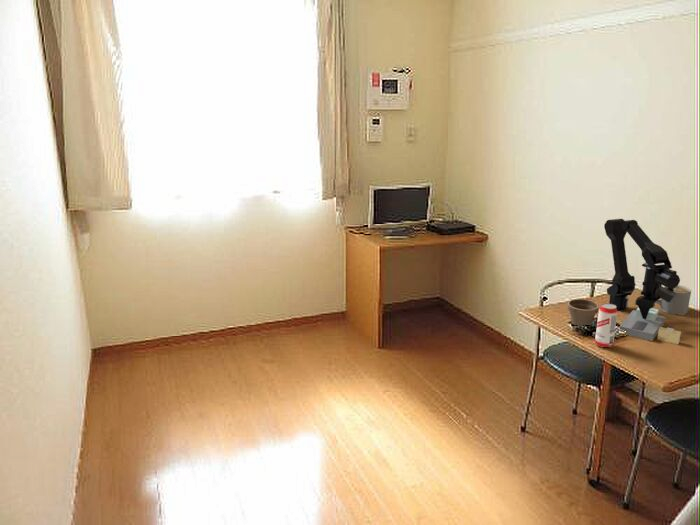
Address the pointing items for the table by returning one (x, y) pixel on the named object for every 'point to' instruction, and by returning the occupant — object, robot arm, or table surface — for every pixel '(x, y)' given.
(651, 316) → the cover
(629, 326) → the housing
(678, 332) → the gold faceted block
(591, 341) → the table surface
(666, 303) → the coffee mug
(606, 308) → the beer can
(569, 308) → the flower pot
